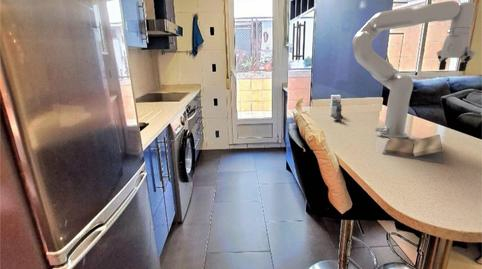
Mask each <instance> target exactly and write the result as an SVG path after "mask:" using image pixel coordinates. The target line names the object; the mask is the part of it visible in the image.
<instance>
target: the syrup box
mask: <svg viewBox="0 0 482 269" xmlns="http://www.w3.org/2000/svg"><path fill="white" fill-rule="evenodd" d="M341 100H342V95H341V94H331V95H330V104H329V116H330V117H332V118H334V115H336V109H337V105H338V104H339V103H340V104H341Z"/></svg>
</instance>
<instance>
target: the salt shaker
mask: <svg viewBox="0 0 482 269" xmlns="http://www.w3.org/2000/svg"><path fill="white" fill-rule="evenodd" d="M342 111H343V110H342V104H341V103H339V104H338V105H337V109H336V115H334V117H333V118H334V120H333V122H334V123H343V121H342V119H344V118H343V117H344V115H342Z"/></svg>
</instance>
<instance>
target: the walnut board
mask: <svg viewBox="0 0 482 269" xmlns="http://www.w3.org/2000/svg"><path fill="white" fill-rule="evenodd" d="M388 140H389V142H388V144H387V147H386V150H385V153H390V154H397V155H403V156H410V157H412V152H413V143H414V140H412V139H407V138H403V139H398V138H388Z"/></svg>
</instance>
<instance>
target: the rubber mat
mask: <svg viewBox="0 0 482 269" xmlns="http://www.w3.org/2000/svg"><path fill="white" fill-rule="evenodd" d="M388 142H389V139H387V141H386V144H385V146H384V149H383V152H382V155H386V156H387V155H389V156H395V157H400V158H406V159H407V158H408V159H412V160H419V161H426V162H432V163H438V164H445V158H444V154H443V153H444V152H443V151H439V152H434V153H430V154H425V155H420V156H414V154H413V152H412V157H410V156H403V155H397V154H390V153H385V150H386V147H387V144H388ZM413 150H414V142H413Z"/></svg>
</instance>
